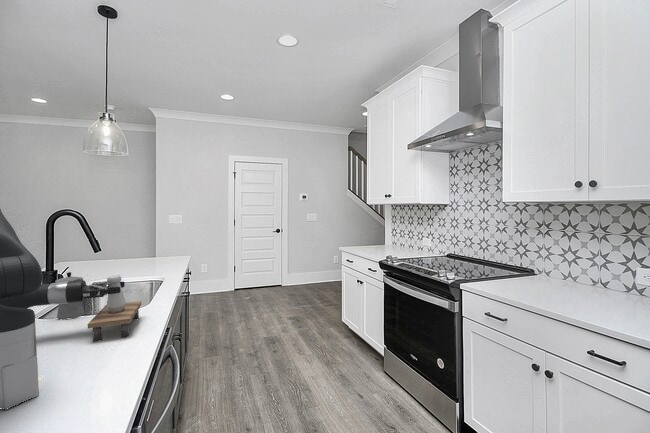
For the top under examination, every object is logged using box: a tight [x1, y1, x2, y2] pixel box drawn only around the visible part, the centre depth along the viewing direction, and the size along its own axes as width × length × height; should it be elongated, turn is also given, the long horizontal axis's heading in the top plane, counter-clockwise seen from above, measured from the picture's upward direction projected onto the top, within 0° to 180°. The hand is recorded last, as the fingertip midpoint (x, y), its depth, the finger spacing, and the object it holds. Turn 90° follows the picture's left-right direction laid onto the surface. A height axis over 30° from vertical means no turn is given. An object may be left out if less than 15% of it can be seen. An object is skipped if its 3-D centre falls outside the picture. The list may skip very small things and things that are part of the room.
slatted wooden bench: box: [87, 300, 142, 343], centre depth 119 cm, size 22×12×6 cm, turn 21°
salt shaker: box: [106, 274, 126, 313], centre depth 118 cm, size 6×6×13 cm
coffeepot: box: [54, 271, 85, 321], centre depth 133 cm, size 15×9×18 cm, turn 66°
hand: (122, 286), depth 119 cm, fingers open, 8 cm apart
